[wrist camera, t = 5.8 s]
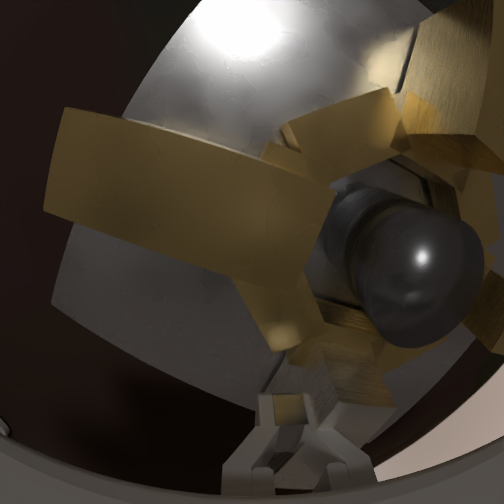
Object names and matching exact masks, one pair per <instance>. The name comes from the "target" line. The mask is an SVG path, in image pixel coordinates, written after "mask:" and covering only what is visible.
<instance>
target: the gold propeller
mask: <svg viewBox="0 0 504 504" xmlns="http://www.w3.org/2000/svg"><path fill="white" fill-rule="evenodd" d="M280 127H281V129H282V132H283V134H284V136H285V138H286V140H287V142H288V145H289V147H290V149H289V148H287V147H284V146H282V145H279V144H277V143H274V142H271V141H267V142H265V143H264V145H263V148H262V151H261V153H260V156H259V158H258V157H256V156H253V155H250V154H247V153H244V152H241V151H239V150H236V149H233V148H230V147H227V146H224V145H221V144H218V143H215V142H212V141H208V140H205V139H202V138H199V137H196V136H192V135H189V134H186V133H182V132H179V131H175V130H172V129H168V128H165V127H161V126H158V125H154V124H150V123H146V122H143V121H138V120H134V119H129V118H125V117H120V116H115V115H110V114H105V113H99V112H94V111H88V110H82V109H76V108H70V107H65V109H64V112H63V116H62V119H61V123H60V127H59V130H58V134H57V138H56V142H55V147H54V151H53V156H52V160H51V165H50V170H49V176H48V181H47V187H46V194H45V200H44V208H43V210H44V211H46V212H49V213H51V214H54V215H57V216H59V217H62V218H64V219H67V220H70V221H72V222H75V223H78V224H80V225H83V226H86V227H88V228H91V229H94V230H96V231H99V232H102V233H104V234H107V235H110V236H113V237H115V238H118V239H121V240H124V241H127V242H129V243H132V244H135V245H138V246H141V247H143V248H146V249H149V250H152V251H155V252H158V253H160V254H163V255H166V256H169V257H172V258H175V259H178V260H181V261H184V262H187V263H189V264H192V265H195V266H198V267H201V268H204V269H207V270H210V271H213V272H216V273H219V274H222V275H225V276H228V277H231V278H232V280H233V282H234V284H235V286H236V287H237V289H238V291H239V293H240V295H241V297H242V298H243V300H244V302H245V304H246V306H247V308H248V309H249V311H250V313H251V315H252V317H253V318H254V320H255V322H256V324H257V326H258V327H259V329H260V331H261V333H262V335H263V336H264V338H265V340H266V342H267V343H268V345H269V347H270V349H271V351H272V352H273V354H275V353H277V352H280V351H283V350H285V349H286V356H285V358H284V360H283V362H282V363H281V365H280V367H279V369H278V370H277V372H276V374H275V376H274V377H273V379H272V381H271V383H270V384H269V386H268V388H267V390H266V391H265V393H271V394H272V393H307V394H308V396H309V400H310V404H311V408H312V413H313V417H314V421H315V426H316V429H328V428H334V429H335V430H336V431H337V432H339V433H340V434H341V435H342V436H344V437H345V438H346V439H347V440H349V441H350V442H351V443H352V444H354V445H355V446H356V447H358V448H359V449H360V448H361V447H362V446H363V445H364V444H365V443H366V442H367V441H368V440H369V439H370V438H371V437H372V436H373V435H374V434H375V433H376V432H377V431H378V430H379V429H380V427H381V426H382V425H383V424H384V423H385V422H386V421H387V420H388V419H389V418H390V416H391V415H392V414H393V413H394V412H395V411H396V410H397V406H396V404H395V402H394V400H393V398H392V396H391V394H390V392H389V390H388V388H387V386H386V384H385V382H384V380H383V378H382V376H381V375H383V374H385V373H387V372H389V371H391V370H393V369H395V368H397V367H399V366H401V365H403V364H405V363H407V362H409V361H411V360H412V359H414V358H416V357H418V356H420V355H422V354H423V353H425V352H427V351H429V350H430V349H432V348H434V347H436V346H437V345H439V344H441V343H442V342H444V341H446V340H447V335H446V336H444V337H443V338H441V339H440V340H438V341H436V342H434V343H432V344H429V345H426V346H423V347H418V348H401V347H397V346H395V345H393V344H390V343H389V342H388V341H386V340H385V339H384V338H383V337H382V336H381V335H380V333H379V332H378V330H377V329H376V327H375V326H374V324H373V323H372V321H371V319H370V318H369V316H368V315H367V313H366V312H362V311H359V310H356V309H353V308H349V307H346V306H343V305H339V304H336V303H333V302H330V301H326V300H323V299H320V298H317V297H314V295H313V293H312V290H311V288H310V286H309V283H308V281H307V279H306V276H305V274H304V271H303V269H304V267H305V265H306V263H307V260H308V258H309V256H310V254H311V251H312V249H313V247H314V245H315V242H316V240H317V238H318V235H319V233H320V231H321V228H322V226H323V224H324V221H325V219H326V217H327V214H328V212H329V210H330V207H331V205H332V202H333V200H334V197H335V195H336V193H337V191H335V190H333V189H331V188H329V186H330V184H331V182H334V181H336V180H338V179H341V178H343V177H345V176H348V175H350V174H352V173H355V172H357V171H360V170H362V169H364V168H367V167H369V166H372V165H374V164H376V163H379V162H381V161H384V160H386V159H389V158H390V159H392V160H394V161H395V162H397V163H399V164H401V165H402V166H404V167H406V168H408V169H409V170H411V171H413V172H414V173H416V174H418V175H420V176H421V177H423V178H424V179H426V180H427V183H428V187H429V190H430V194H431V198H432V203H433V207H434V209H437V210H439V211H442V212H444V213H446V214H449V215H451V216H454V217H456V218H458V219H460V220H463V221H465V222H466V223H467V224H469V225H470V226H471V227H472V228H473V229H474V230H475V232H476V233H477V235H478V236H479V239H480V241H481V243H482V247H483V251H484V260H485V266H484V275H483V281H482V285H481V288H480V291H479V293H478V296H477V298H476V300H475V302H474V304H473V306H472V308H471V309H470V311H469V312H468V314H467V315H466V316H465V318H464V319H463V320H462V321H461V322H460V324H459V325H458V326H457V327H460V325H461V324H462V323H463V324H464V325H465V326H466V327H467V328H468V329H469V330H470V331H471V332H472V333H473V334H474V335H475V336H476V337H477V338H478V339H479V340H480V341H481V342H482V343H483V345H484V346H485V347H486V348H487V349H488V350H489V351H490V352H493V353H497V354H501V355H504V277H503V276H502V275H500V274H498V273H497V272H495V271H494V270H492V269H491V267H492V265H493V263H494V261H495V258H496V256H494V255H493V254H491V253H490V252H488V251H487V250H485V248H487V247H489V246H490V245H492V244H493V243H495V242H496V241H498V240H499V228H498V218H497V209H496V202H495V195H494V188H493V183H492V177H491V173H495V174H499V175H504V0H460V1H458V2H456V3H455V4H453V5H451V6H449V7H447V8H445V9H443V10H442V11H440V12H438V13H436V14H435V15H433V16H431V17H429V18H428V19H426V20H424V21H422V22H421V23H420V25H419V29H418V33H417V37H416V41H415V45H414V48H413V52H412V56H411V59H410V63H409V66H408V69H407V73H406V76H405V79H404V83H403V86H402V89H401V92H400V93H397V94H393V95H392V94H391V92H390V90H389V87H384V88H381V89H378V90H374V91H371V92H368V93H365V94H362V95H359V96H356V97H353V98H350V99H347V100H344V101H341V102H338V103H335V104H332V105H329V106H327V107H324V108H321V109H319V110H316V111H313V112H311V113H308V114H305V115H303V116H300V117H298V118H295V119H293V120H290V121H288V122H286V123H285V124H283V125H282V126H280ZM305 443H306V442H303V443H298V444H297V445H296V446H295V448H294V449H293V450H292V451H291V452H278V453H274V455H273V456H272V458H271V459H270V461H269V462H268V464H267V465H266V467H269V468H271V469H272V470H273V474H274V485H275V488H286V489H314V488H315V486H316V485H317V483H318V481H319V478H318V477H317V476H316V475H315V474H314V473H313V472H312V470H311V469H310V468H309V467H308V466H307V465H306V464H305V463H304V462H303V460H302V459H301V458H300V457H301V454H302V452H303V449H304V446H305Z"/></svg>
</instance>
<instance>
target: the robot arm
mask: <svg viewBox="0 0 504 504" xmlns="http://www.w3.org/2000/svg"><path fill="white" fill-rule="evenodd" d="M9 431H10V430H9V428H8V426H7V425H6V424H5V423H4V422H3V420H2V419H1V418H0V504H504V436H502V437H500V438H498V439H496V440H494V441H492V442H491V443H488V444H486V445H484V446H482V447H480V448H478V449H475V450H473V451H471V452H469V453H467V454H464V455H462V456H459V457H457V458H454V459H452V460H449V461H446V462H444V463H441V464H438V465H436V466H433V467H430V468H427V469H424V470H421V471H417V472H414V473H411V474H408V475H404V476H401V477H397V478H393V479H389V480H385V481H381V482H378V481H377V478H376V475H375V472H374V469H373V466H372V463H371V460H370V457H369V456H368V455H367V454H365V453H364V452H363V451H361V450H360V449H359V448H358V447H356V446H355V445H354V444H352V443H351V442H350V441H349V440H347V439H346V438H345V437H344V436H342V435H341V434H340V433H339V432H337V431H336V430H335V429H334V428H328V429H316V426H315V421H314V417H313V413H312V408H311V404H310V400H309V396H308V394H307V393H272V394H271V393H258V394H257V403H256V412H255V427H254V429H253V430H252V431H251V432H250V434H249V435H248V436H247V437H246V438H245V440H244V441H243V442H242V443H241V444H240V446H239V447H238V448H237V449H236V450H235V452H234V453H233V454H232V455H231V456H230V457H229V458H228V460H227V461H226V462H225V463H224V464H223V468H222V485H221V495H214V494H202V493H192V492H184V491H176V490H169V489H163V488H157V487H152V486H147V485H142V484H137V483H132V482H128V481H124V480H120V479H116V478H112V477H109V476H105V475H101V474H98V473H95V472H91V471H88V470H85V469H82V468H79V467H76V466H73V465H71V464H68V463H65V462H62V461H60V460H57V459H55V458H52V457H50V456H47V455H45V454H43V453H40V452H38V451H36V450H33V449H31V448H29V447H27V446H25V445H23V444H21V443H19V442H17V441H15V440H13V439H11V438H9V437H8V434H9ZM303 442H306V443H305V446H304V449H303V452H302V454H301V457H300V458H301V459H302V460H303V462H304V463H305V464H306V465H307V466H308V467H309V468H310V469H311V470H312V472H313V473H314V474H315V475H316V476H317V477H318V478H319V481H318V483H317V485H316V486H315V488H314V490H313V492H312V493H307V494H295V495H278V496H276V495H275V485H274V474H273V470H272V469H271V468H269V467H266V465H267V464H268V462H269V461H270V459H271V458H272V456H273V455H274V453H278V452H291V451H292V450H293V449H294V448H295V446H296V445H297V444H298V443H303Z"/></svg>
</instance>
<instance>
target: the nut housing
mask: <svg viewBox="0 0 504 504" xmlns="http://www.w3.org/2000/svg"><path fill="white" fill-rule="evenodd" d="M433 15H434V14H433V13H432V12H430V11H429V10H428V9H427V8H426V7H425V6H424V5H422V4H421V3H420V2H419V1H418V0H202V1H201V2H200V3H199V4H198V6H197V7H196V8H195V9H194V10H193V12H192V13H191V14H190V15H189V17H188V18H187V19H186V20H185V22H184V23H183V24H182V25H181V27H180V28H179V29H178V31H177V32H176V33H175V35H174V36H173V37H172V39H171V40H170V41H169V43H168V44H167V45H166V47H165V48H164V50H163V51H162V52H161V54H160V55H159V57H158V58H157V60H156V61H155V63H154V64H153V66H152V67H151V69H150V70H149V72H148V73H147V75H146V76H145V78H144V80H143V81H142V83H141V84H140V86H139V88H138V89H137V91H136V93H135V94H134V96H133V98H132V99H131V101H130V103H129V105H128V106H127V108H126V110H125V112H124V113H123V115H122V117H125V118H129V119H134V120H138V121H143V122H146V123H150V124H154V125H158V126H161V127H165V128H168V129H172V130H175V131H179V132H182V133H186V134H189V135H192V136H196V137H199V138H202V139H205V140H208V141H212V142H215V143H218V144H221V145H224V146H227V147H230V148H233V149H236V150H239V151H241V152H244V153H247V154H250V155H253V156H256V157H258V158H259V156H260V153H261V151H262V148H263V145H264V143H265V142H267V141H271V142H274V143H277V144H279V145H282V146H284V147H287V148H289V149H290V147H289V145H288V142H287V140H286V138H285V136H284V134H283V132H282V129H281V127H280V126H282V125H283V124H285V123H286V122H288V121H290V120H293V119H295V118H298V117H300V116H303V115H305V114H308V113H311V112H313V111H316V110H319V109H321V108H324V107H327V106H329V105H332V104H335V103H338V102H341V101H344V100H347V99H350V98H353V97H356V96H359V95H362V94H365V93H368V92H371V91H374V90H378V89H381V88H384V87H389V90H390V92H391V94H392V95H393V94H397V93H400V92H401V89H402V86H403V83H404V79H405V76H406V73H407V69H408V66H409V63H410V59H411V56H412V52H413V48H414V45H415V41H416V37H417V33H418V29H419V25H420V23H421V22H422V21H424V20H426V19H428V18H429V17H431V16H433ZM491 177H492V183H493V188H494V195H495V202H496V209H497V218H498V228H499V240H498V241H496V242H495V243H493V244H492V245H490V246H489V247H487V248H485V250H487V251H488V252H490V253H491V254H493V255H494V256H496V258H495V261H494V263H493V265H492V267H491V269H492V270H494V271H495V272H497V273H498V274H500V275H502V276H503V277H504V175H499V174H495V173H491ZM329 188H331V189H333V190H335V191H337V193H336V195H335V197H334V200H333V202H332V205H331V207H330V210H329V212H328V214H327V217H326V219H325V221H324V224H323V226H322V228H321V231H320V233H319V235H318V238H317V240H316V242H315V245H314V247H313V249H312V251H311V254H310V256H309V258H308V260H307V263H306V265H305V267H304V269H303V271H304V274H305V276H306V279H307V281H308V283H309V286H310V288H311V290H312V293H313V295H314V297H317V298H320V299H323V300H326V301H330V302H333V303H336V304H339V305H343V306H346V307H349V308H353V309H356V310H359V311H362V312H366V313H367V315H368V316H369V318H370V319H371V321H372V323H373V324H374V326H375V327H376V329H377V330H378V332H379V333H380V335H381V336H382V337H383V338H384V339H385V340H386V341H388V342H389V343H390V344H393V345H395V346H397V347H401V348H418V347H423V346H426V345H429V344H432V343H434V342H436V341H438V340H440V339H441V338H443V337H444V336H446V335H447V340H446V341H444V342H442V343H441V344H439V345H437V346H436V347H434V348H432V349H430V350H429V351H427V352H425V353H423V354H422V355H420V356H418V357H416V358H414V359H412V360H411V361H409V362H407V363H405V364H403V365H401V366H399V367H397V368H395V369H393V370H391V371H389V372H387V373H385V374H383V375H381V376H382V378H383V380H384V382H385V384H386V386H387V388H388V390H389V392H390V394H391V396H392V398H393V400H394V402H395V404H396V406H397V410H396V411H395V412H394V413H393V414H392V415H391V416H390V418H389V419H388V420H387V421H386V422H385V423H384V424H383V425H382V426H381V427H380V429H379V430H378V431H377V432H376V433H375V434H374V435H373V436H372V437H371V438H370V439H369V440H368V441H367V442H366V443H370V442H371V441H372V440H374V439H375V438H376V437H377V436H379V435H380V434H381V433H382V432H384V431H385V430H386V429H387V428H389V427H390V426H391V425H392V424H393V423H394V422H396V421H397V420H398V419H399V418H400V417H401V416H402V415H404V414H405V413H406V412H407V411H408V410H409V409H410V408H411V407H412V406H413V405H415V404H416V403H417V402H418V401H419V400H420V399H421V398H422V397H423V396H424V395H425V394H426V393H427V392H428V391H429V390H430V389H431V388H432V387H433V386H434V385H435V384H436V383H437V382H438V381H439V380H440V379H441V378H442V377H443V375H444V374H445V373H446V372H447V371H448V370H449V369H450V368H451V367H452V366H453V364H454V363H455V362H456V361H457V360H458V359H459V358H460V356H461V355H462V354H463V353H464V352H465V350H466V349H467V348H468V347H469V346H470V344H471V343H472V342H473V341H474V339H475V338H476V336H475V335H474V334H473V333H472V332H471V331H470V330H469V329H468V328H467V327H466V326H465V325H464V324H463V323H462V324H461V325H460V327H457V326H458V325H459V324H460V322H461V321H462V320H463V319H464V318H465V316H466V315H467V314H468V312H469V311H470V309H471V308H472V306H473V304H474V302H475V300H476V298H477V296H478V293H479V291H480V288H481V285H482V281H483V275H484V266H485V260H484V251H483V247H482V243H481V241H480V239H479V236H478V235H477V233H476V232H475V230H474V229H473V228H472V227H471V226H470V225H469V224H467V223H466V222H465V221H463V220H460V219H458V218H456V217H454V216H451V215H449V214H446V213H444V212H442V211H439V210H437V209H434V207H433V203H432V198H431V194H430V190H429V187H428V183H427V180H426V179H424V178H423V177H421V176H420V175H418V174H416V173H414V172H413V171H411V170H409V169H408V168H406V167H404V166H402V165H401V164H399V163H397V162H395V161H394V160H392V159H390V158H389V159H386V160H384V161H381V162H379V163H376V164H374V165H372V166H369V167H367V168H364V169H362V170H360V171H357V172H355V173H352V174H350V175H348V176H345V177H343V178H341V179H338V180H336V181H334V182H331V184H330V186H329ZM51 304H52V305H53V306H55V307H56V308H57V309H59V310H60V311H62V312H63V313H65V314H66V315H68V316H69V317H70V318H72V319H73V320H75V321H76V322H78V323H80V324H81V325H83V326H84V327H86V328H87V329H89V330H90V331H92V332H94V333H95V334H97V335H98V336H100V337H102V338H103V339H105V340H107V341H108V342H110V343H112V344H113V345H115V346H117V347H119V348H120V349H122V350H124V351H126V352H127V353H129V354H131V355H133V356H135V357H136V358H138V359H140V360H142V361H144V362H146V363H148V364H149V365H151V366H153V367H155V368H157V369H159V370H161V371H163V372H165V373H167V374H169V375H171V376H173V377H175V378H177V379H179V380H182V381H184V382H186V383H188V384H190V385H192V386H195V387H197V388H199V389H201V390H204V391H206V392H208V393H210V394H213V395H215V396H218V397H220V398H222V399H225V400H227V401H230V402H232V403H235V404H237V405H240V406H243V407H245V408H248V409H251V410H253V411H256V403H257V394H258V393H265V391H266V390H267V388H268V386H269V384H270V383H271V381H272V379H273V377H274V376H275V374H276V372H277V370H278V369H279V367H280V365H281V363H282V362H283V360H284V358H285V356H286V349H285V350H283V351H280V352H277V353H275V354H273V352H272V351H271V349H270V347H269V345H268V343H267V342H266V340H265V338H264V336H263V335H262V333H261V331H260V329H259V327H258V326H257V324H256V322H255V320H254V318H253V317H252V315H251V313H250V311H249V309H248V308H247V306H246V304H245V302H244V300H243V298H242V297H241V295H240V293H239V291H238V289H237V287H236V286H235V284H234V282H233V280H232V278H231V277H228V276H225V275H222V274H219V273H216V272H213V271H210V270H207V269H204V268H201V267H198V266H195V265H192V264H189V263H187V262H184V261H181V260H178V259H175V258H172V257H169V256H166V255H163V254H160V253H158V252H155V251H152V250H149V249H146V248H143V247H141V246H138V245H135V244H132V243H129V242H127V241H124V240H121V239H118V238H115V237H113V236H110V235H107V234H104V233H102V232H99V231H96V230H94V229H91V228H88V227H86V226H83V225H80V224H78V223H75V222H74V225H73V228H72V231H71V234H70V237H69V240H68V243H67V246H66V249H65V252H64V256H63V259H62V262H61V266H60V269H59V273H58V277H57V280H56V284H55V288H54V292H53V296H52V301H51Z"/></svg>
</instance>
